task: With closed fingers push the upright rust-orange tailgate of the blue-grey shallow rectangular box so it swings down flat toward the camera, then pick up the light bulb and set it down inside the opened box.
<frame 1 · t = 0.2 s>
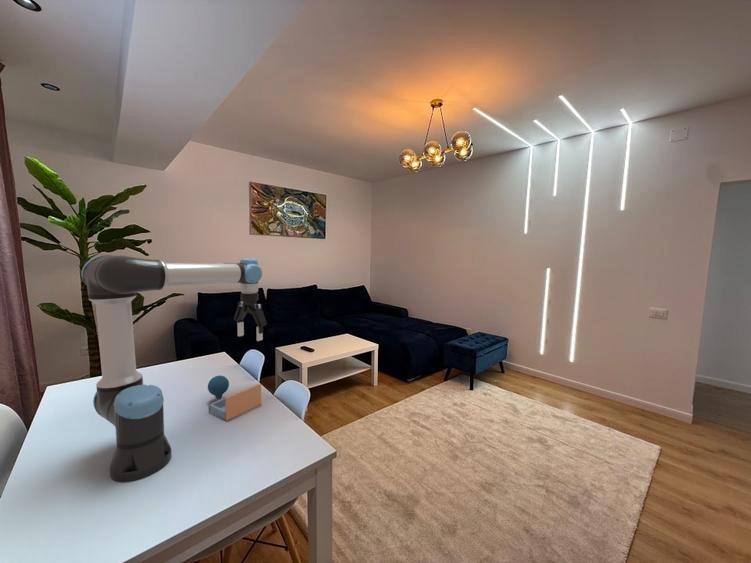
hand: (249, 338, 139), 27 cm above the table, fingers open, 13 cm apart
tailgate: (244, 402, 124), point 5 cm above the table, hinge at 0.0°
light bulb: (218, 402, 134), on the table
blue-grey shallow rectangular box: (234, 409, 128), on the table
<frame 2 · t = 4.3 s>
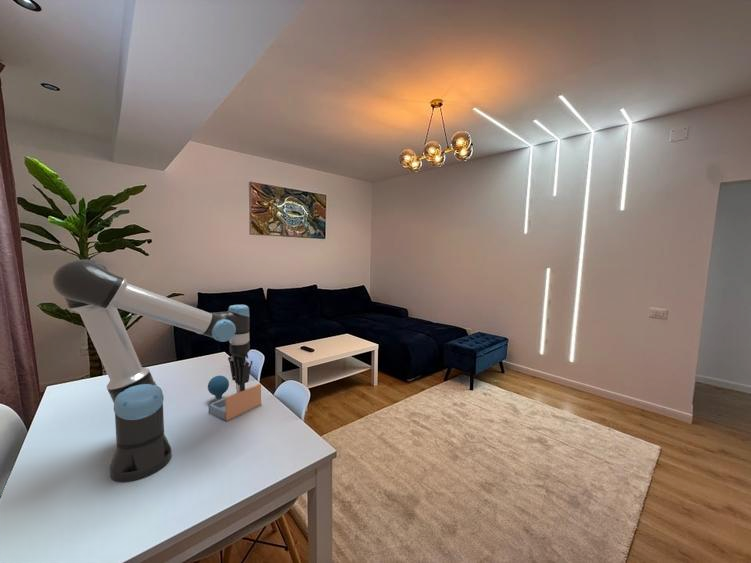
hand: (240, 398, 125), 6 cm above the table, fingers closed
tailgate: (244, 402, 124), point 5 cm above the table, hinge at 0.4°, touching gripper
everything else where it was.
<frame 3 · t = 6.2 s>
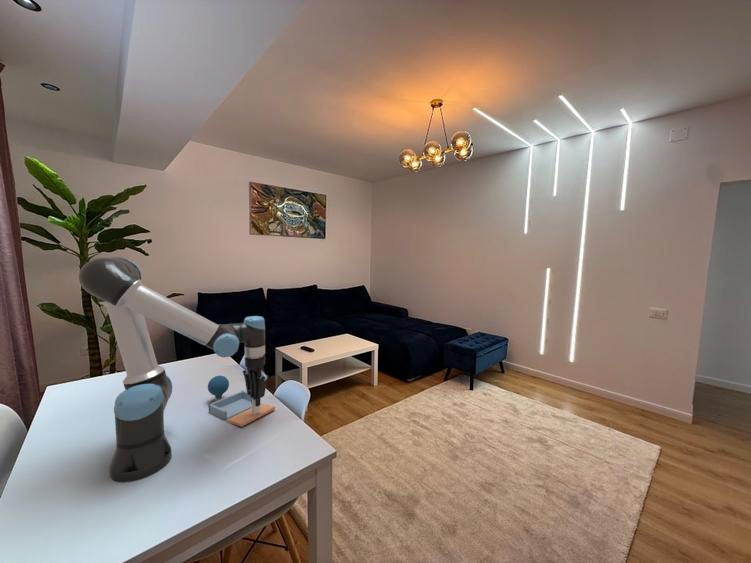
hand: (256, 412, 121), 2 cm above the table, fingers closed
tailgate: (251, 414, 122), point 1 cm above the table, hinge at 83.4°, touching gripper
everything else where it was.
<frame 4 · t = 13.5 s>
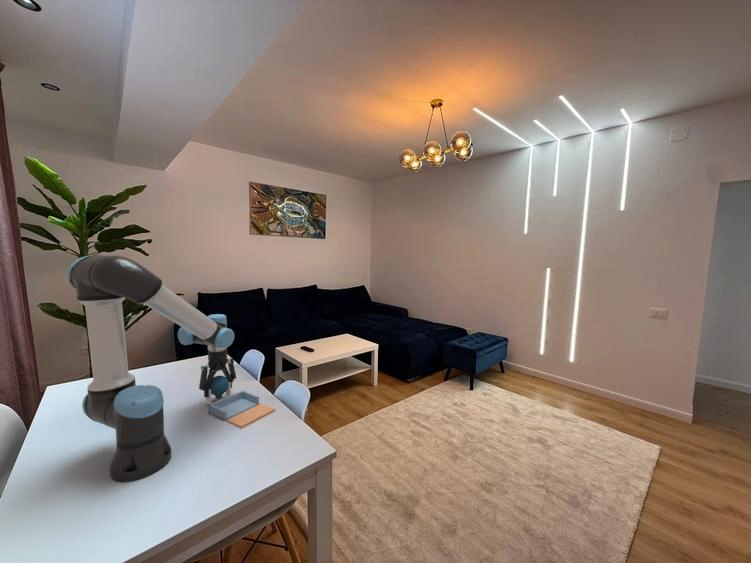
hand: (218, 399, 134), 1 cm above the table, fingers closed on light bulb, 8 cm apart
tailgate: (251, 415, 122), point 1 cm above the table, hinge at 88.5°
light bulb: (218, 402, 134), on the table, touching gripper
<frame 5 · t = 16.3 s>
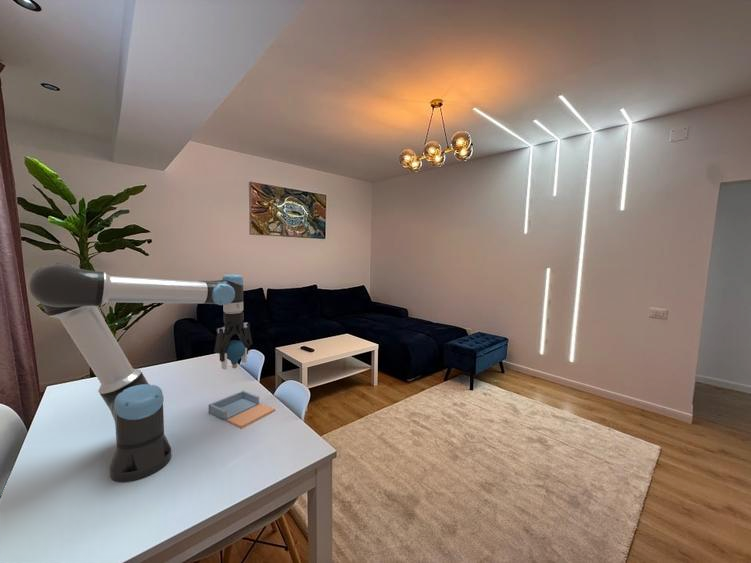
hand: (234, 365, 126), 19 cm above the table, fingers closed on light bulb, 8 cm apart
light bulb: (234, 368, 126), point 18 cm above the table, touching gripper
everything else where it was.
when the fingers open (4 cm above the table, at t = 19.4 s): light bulb drops 2 cm, resting on blue-grey shallow rectangular box.
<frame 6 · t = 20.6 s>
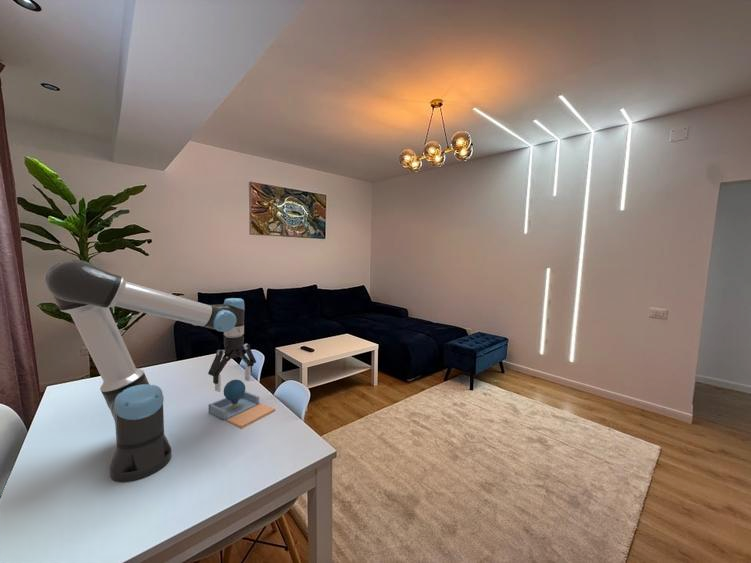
hand: (233, 385, 127), 11 cm above the table, fingers open, 13 cm apart
light bulb: (234, 408, 128), point 1 cm above the table, touching blue-grey shallow rectangular box
everything else where it was.
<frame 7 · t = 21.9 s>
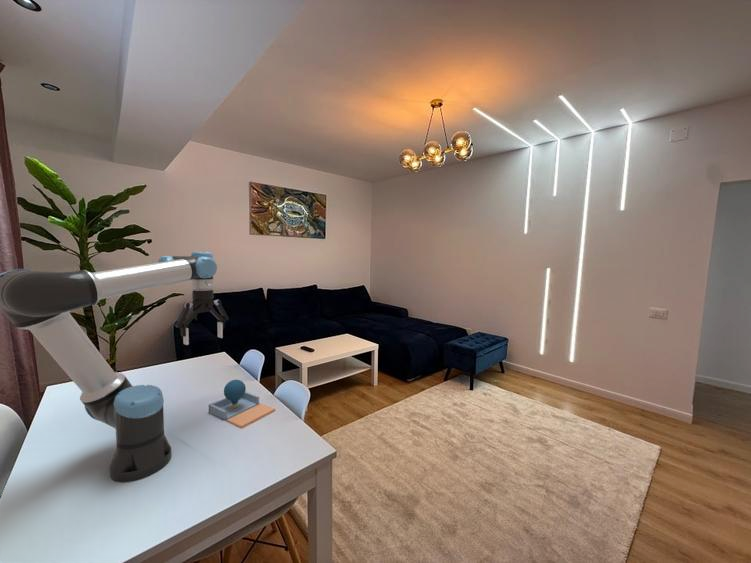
hand: (203, 340, 124), 30 cm above the table, fingers open, 13 cm apart
nothing on the table moved.
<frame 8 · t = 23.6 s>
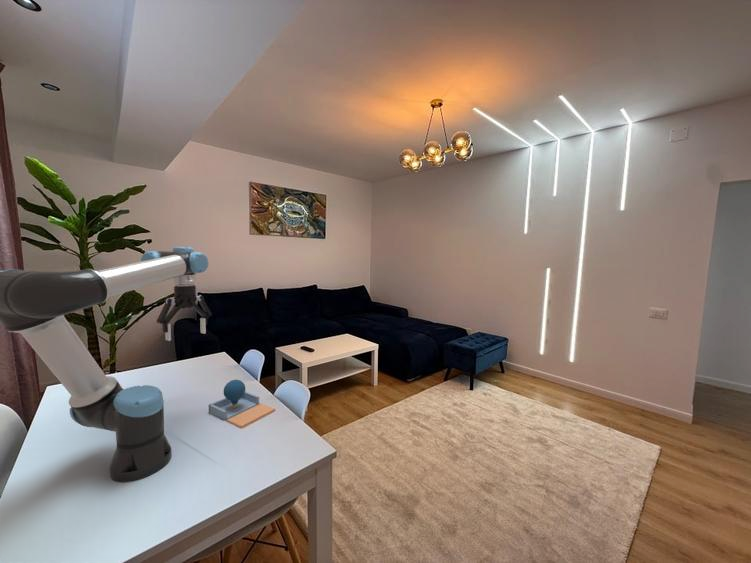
hand: (186, 336, 124), 32 cm above the table, fingers open, 13 cm apart
nothing on the table moved.
at the end: tailgate at +88° (first picture: +0°); light bulb inside the target area (0.3 cm from its centre), point 0.8 cm above the table; the gripper is holding nothing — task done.
